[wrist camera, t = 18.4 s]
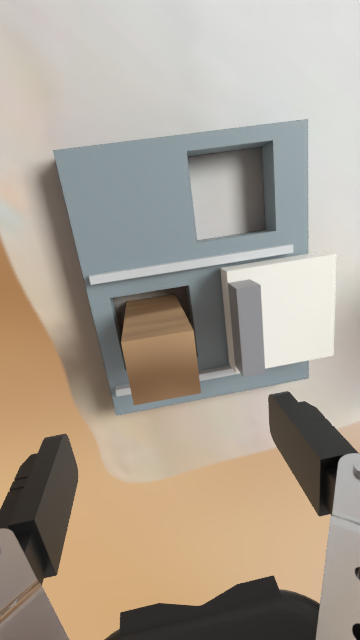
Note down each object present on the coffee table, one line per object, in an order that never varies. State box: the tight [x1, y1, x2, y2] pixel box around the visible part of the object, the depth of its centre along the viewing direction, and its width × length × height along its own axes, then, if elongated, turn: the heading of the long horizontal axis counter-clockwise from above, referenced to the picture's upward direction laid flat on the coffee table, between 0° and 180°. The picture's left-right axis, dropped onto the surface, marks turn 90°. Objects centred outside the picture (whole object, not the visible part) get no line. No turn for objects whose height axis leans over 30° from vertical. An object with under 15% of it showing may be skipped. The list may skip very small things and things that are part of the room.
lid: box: [220, 252, 336, 377], centre depth 23 cm, size 8×8×4 cm
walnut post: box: [121, 294, 201, 405], centre depth 22 cm, size 4×4×9 cm
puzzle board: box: [53, 119, 309, 416], centre depth 24 cm, size 20×17×3 cm
